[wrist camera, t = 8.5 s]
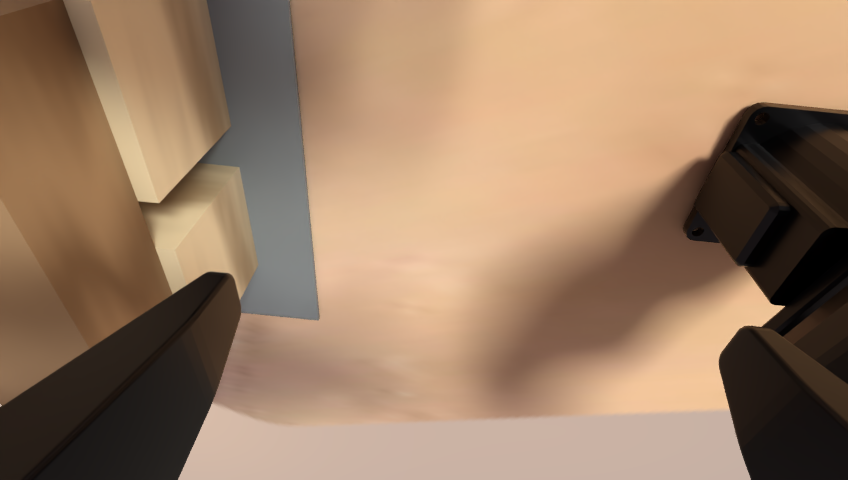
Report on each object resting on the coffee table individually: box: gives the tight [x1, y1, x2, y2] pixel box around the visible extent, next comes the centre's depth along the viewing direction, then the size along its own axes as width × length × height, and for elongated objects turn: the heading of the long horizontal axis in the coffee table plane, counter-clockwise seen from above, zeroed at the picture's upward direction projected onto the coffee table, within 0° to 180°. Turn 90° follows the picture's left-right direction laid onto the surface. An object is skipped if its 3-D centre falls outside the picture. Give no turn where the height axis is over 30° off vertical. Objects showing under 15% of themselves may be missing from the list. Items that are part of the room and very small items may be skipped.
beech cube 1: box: [63, 0, 231, 203], centre depth 16 cm, size 6×6×6 cm
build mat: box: [197, 0, 319, 320], centre depth 20 cm, size 12×22×1 cm, turn 175°
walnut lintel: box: [0, 0, 172, 406], centre depth 14 cm, size 14×4×4 cm, turn 175°
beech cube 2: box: [138, 163, 258, 299], centre depth 20 cm, size 6×6×6 cm
